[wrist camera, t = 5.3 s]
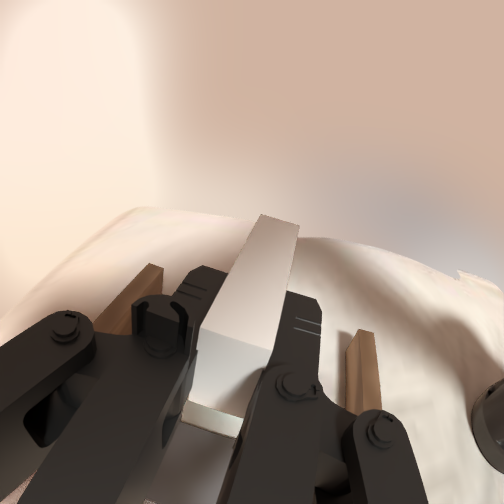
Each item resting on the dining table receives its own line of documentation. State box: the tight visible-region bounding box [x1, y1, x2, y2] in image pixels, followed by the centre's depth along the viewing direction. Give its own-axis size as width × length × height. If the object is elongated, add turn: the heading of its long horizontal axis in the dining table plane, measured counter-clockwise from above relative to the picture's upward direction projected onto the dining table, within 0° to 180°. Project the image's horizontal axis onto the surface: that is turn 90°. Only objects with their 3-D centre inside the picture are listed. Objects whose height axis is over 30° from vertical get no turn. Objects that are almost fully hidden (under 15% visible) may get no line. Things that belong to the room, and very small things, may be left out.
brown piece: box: [93, 263, 382, 504], centre depth 27 cm, size 28×24×4 cm
